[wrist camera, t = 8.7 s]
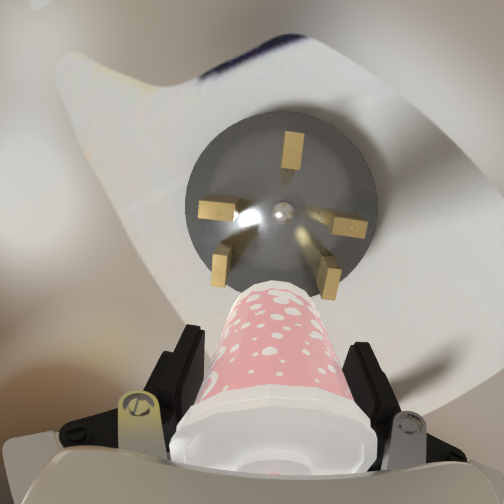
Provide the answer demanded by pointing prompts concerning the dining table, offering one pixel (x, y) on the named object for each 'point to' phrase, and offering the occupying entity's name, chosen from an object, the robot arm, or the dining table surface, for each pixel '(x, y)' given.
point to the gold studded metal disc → (281, 204)
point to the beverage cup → (275, 395)
